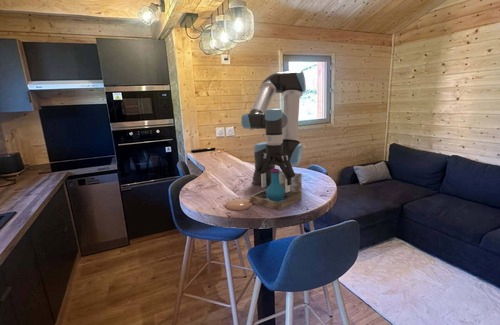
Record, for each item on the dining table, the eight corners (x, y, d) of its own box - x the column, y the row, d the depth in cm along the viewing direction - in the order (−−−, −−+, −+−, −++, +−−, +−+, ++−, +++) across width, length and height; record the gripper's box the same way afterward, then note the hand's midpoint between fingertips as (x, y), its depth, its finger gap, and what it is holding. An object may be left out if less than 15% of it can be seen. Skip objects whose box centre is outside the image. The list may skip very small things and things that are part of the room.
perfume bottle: (264, 197, 131) (263, 167, 128) (283, 196, 132) (282, 166, 128) (267, 204, 122) (266, 172, 119) (287, 203, 123) (287, 171, 119)
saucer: (220, 206, 122) (220, 204, 122) (238, 198, 131) (238, 197, 131) (239, 212, 115) (239, 210, 114) (257, 204, 123) (257, 202, 123)
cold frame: (250, 202, 126) (249, 177, 124) (273, 191, 140) (273, 169, 137) (280, 210, 115) (279, 183, 113) (302, 197, 129) (302, 173, 126)
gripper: (247, 143, 127) (249, 186, 131) (293, 147, 110) (293, 196, 115) (258, 141, 132) (259, 183, 136) (302, 144, 116) (303, 191, 120)
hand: (275, 189), depth 126 cm, fingers open, 13 cm apart
